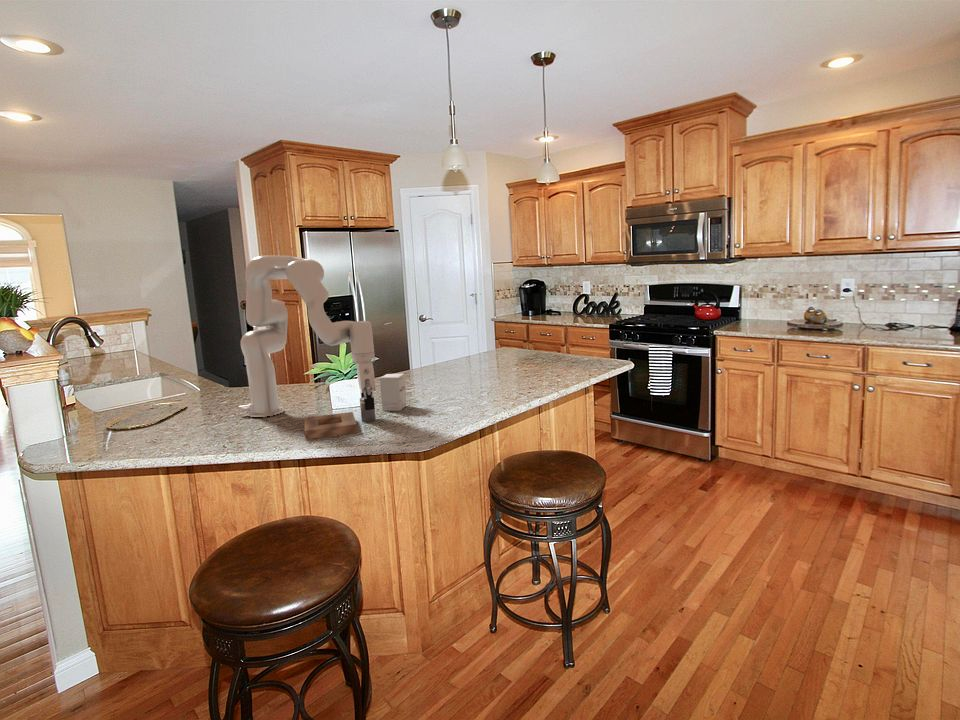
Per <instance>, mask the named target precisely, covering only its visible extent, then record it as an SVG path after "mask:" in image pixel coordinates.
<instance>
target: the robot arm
mask: <svg viewBox="0 0 960 720" xmlns="http://www.w3.org/2000/svg"><path fill="white" fill-rule="evenodd" d="M244 275H245V276H244V277H245V283H246V292H245V293H246V296H245V320H246V322H247V324H248V325H249V326H250V327H254V328H260V329H255V330H249V331H247V332H246V333H245V334H244V335H243V336H241V339H240V348H241V352H242V355H243V356H244V357H243V358H244V361H245V367H246V375H247V380H248V381H247V382H248V389H249V396H250V403H248V404H247V405H239V406H238V411H239V412H247V416H248V417H249V416H250V417H249V418H252V417H263V418H268V417H267V416H270V417H274V416H273V415H275V416H278V415H280V413H281V414H282V413H283V412H285V409H284V407H283V406H280V405H279V396H278V395H279V394H278V387H277V385H278V384H277V378H276V370H275V365H274V362H273V360H272V359H271V357H270V354H273V353H277V352H280V351H282V350H283V349H284V348H285V347H286V344H287V340H288V339H287V338H288V326H289V325H288V324H289V323H288V321H289V320H288V319H289V314H288V309H287V307H286V305H285V304H284V303H283V302H282V301H281V300H279V299H275V298H274V299H273V289H272V287H271V286H272V285H271V284H270V281H272V280H273V281H274V280H280V281H281V280H288V281H289V282H290V284H291V285H292V287H293V288H294V289H295V291H296V293H298V295H299V297H300V298H301V299H302V300H303V302H304V303H305V305H306V307H307V318H308V322H309V325H310V327H311V328H312V330H313V332H314V333H315V334H316V336H317V337H318V338H319V339H320V341H321V342H322V343H323V344H325V345H327V346H330V347H331V346H332V347H333V346H338V345H342V344H346V343H350V348H351V349H350V351H351V360H352V364H355V365H356V374H357V381H358V385H359V389H360V398H362V397H365V399H364V404H365V410H372V409H375V407H376V405H375V397H374V394H373V391H376V390H377V386H376V380H375V371H374V365H373V364H374V362H375V361H376V357H375V356H376V355H375V348H374V347H375V345H374V335H373V329H372V327H373V325H372V323H371V322H370V321H368V320H360V321H354V320H341V321H334V322H332V321H331V319H330V318H329V316H328V315H327V314H326V312H325V308H324V303H325V302H326V301H327V300H328V299H329V297H330V293H329V291H328V290H327V288H326V287H325V285H324V284H323V283H322V280H324V277H325V270H324V267H323V266H322V264H321V263H319V262H318V261H317V260H314V259H308V258H304V257H298V256H293V255H273V254H271V255H259V256H256V257H253V258H252V259H251V260H249V262H248V263H247V264H246V267H245V273H244ZM261 327H265V328H262V329H261ZM371 358H374V359H375V360H373V361H371V360H372V359H371ZM375 410H376V409H375ZM277 414H278V415H277Z"/></svg>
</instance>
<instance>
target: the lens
mask: <svg viewBox="0 0 960 720" xmlns="http://www.w3.org/2000/svg"><path fill="white" fill-rule="evenodd" d="M364 399H365V397H362V398H361V397H360V398H359V406H360V417H361V423H367V424H368V423H373V422H375V421H376V420H377V419H376V409H372V410H365V404H364Z"/></svg>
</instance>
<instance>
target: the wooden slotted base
mask: <svg viewBox="0 0 960 720" xmlns="http://www.w3.org/2000/svg"><path fill="white" fill-rule="evenodd" d="M358 433H359V432H358V423H357V420H356V418H355V416H354V412H353V411H349V412H348V411H347V412H340V413H334V414H333V413H332V414H331V413H330V414H325V415H317V416H309V417H304V436H305V438H304V439H305V440H306V439H310V440H314V439H313V438H317V439H321V438H320V437H325V438H329V436H332V437H338V436H337V435H339V436H346V435H352V434H358Z"/></svg>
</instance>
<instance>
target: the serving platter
mask: <svg viewBox="0 0 960 720" xmlns="http://www.w3.org/2000/svg"><path fill="white" fill-rule="evenodd" d="M172 403H181V404H185V405H186V406H185V407H186V408H187V407H188V404H187V403H185V402H181V401H180V402H176V401H174V402H165V403H163V402H162V403H157V404H155V405H159V404H160V405H161V404H172ZM152 405H153V404H151V405H150V406H152ZM148 406H149V405H147V406H143V407H140V408H138V409H136V410H133V411H131V412H129V413H126V414H124V415H122V416H120V417H118V418H115V419H113V420H111V421H109V422H107V423H106V424H105V427H106V428H107V429H109V430H111V429H116V430H115V431H118V430H117V429H128V428H135V427H141V426H145V425H149V424H152V423H155V422H158V421H160V420H162V419H164V418H166V417H168V416H170V415H171V414H173V413H175V412H177V411H179V410H181V409H183V408H185V407H181V408H179V409H177V410H176V411H174V412H172V413H170V414H168V415H166V416H164V417H162V418H160V419H158V420H155V421H151V422H147V423H142V424H138V425H131V426H121V427H114V426H112V427H110V425H111V424H113V423H115V422H117V421H119V420H121V419H122V418H124V417H126V416H128V415H130V414H132V413H133V412H135V411H137V410H139V409H142V408H145V407H148ZM186 408H185V409H186ZM183 410H184V409H183ZM170 417H171V416H170ZM168 418H169V417H168Z"/></svg>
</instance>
